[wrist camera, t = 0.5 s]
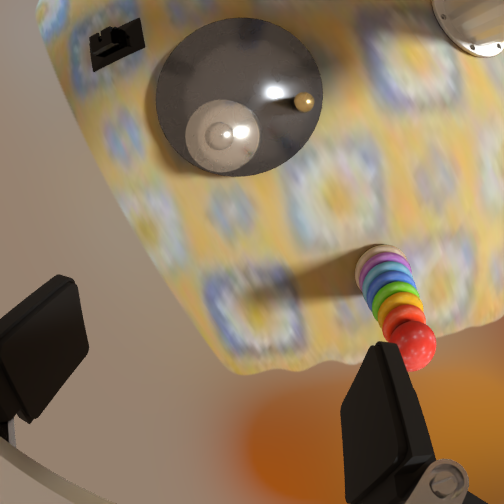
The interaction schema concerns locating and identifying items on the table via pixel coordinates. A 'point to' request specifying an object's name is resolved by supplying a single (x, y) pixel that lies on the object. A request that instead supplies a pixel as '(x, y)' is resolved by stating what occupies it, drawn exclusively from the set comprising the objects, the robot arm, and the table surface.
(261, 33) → the turntable
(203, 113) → the cover
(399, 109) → the table surface
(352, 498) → the robot arm
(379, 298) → the stacking toy
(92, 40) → the black mechanical part
